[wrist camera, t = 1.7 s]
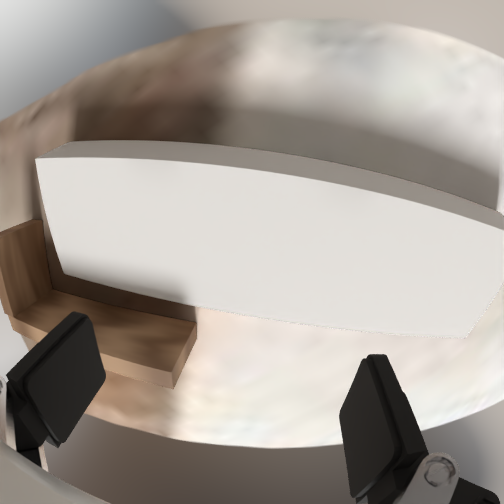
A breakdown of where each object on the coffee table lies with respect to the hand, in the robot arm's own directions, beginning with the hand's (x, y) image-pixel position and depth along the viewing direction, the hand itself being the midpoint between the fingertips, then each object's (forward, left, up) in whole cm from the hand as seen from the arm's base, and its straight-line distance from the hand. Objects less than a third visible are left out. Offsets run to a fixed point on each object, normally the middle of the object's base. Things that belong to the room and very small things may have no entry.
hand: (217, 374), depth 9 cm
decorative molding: (-2, -2, -12) cm, 12 cm away
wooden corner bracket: (+12, +3, -11) cm, 17 cm away
